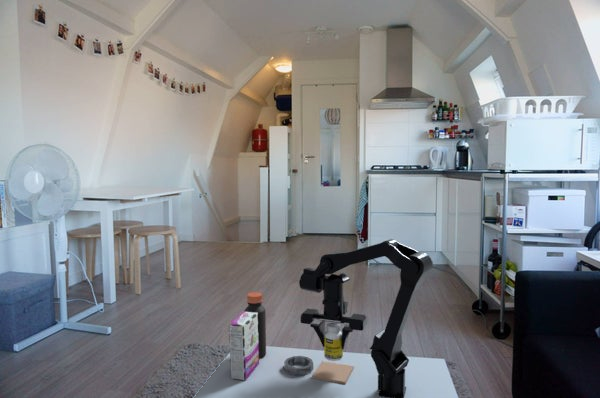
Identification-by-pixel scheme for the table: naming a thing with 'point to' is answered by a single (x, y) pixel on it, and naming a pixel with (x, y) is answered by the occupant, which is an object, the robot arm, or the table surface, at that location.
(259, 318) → the vinegar
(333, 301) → the robot arm
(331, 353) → the supplement bottle
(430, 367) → the table surface
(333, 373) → the mat
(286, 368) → the collar
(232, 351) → the candy bar box
